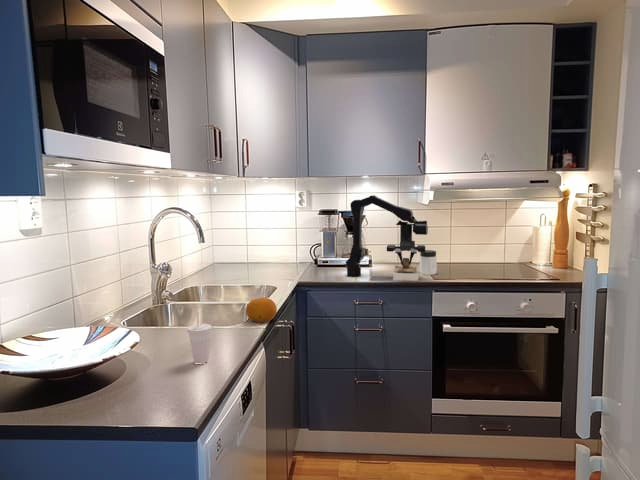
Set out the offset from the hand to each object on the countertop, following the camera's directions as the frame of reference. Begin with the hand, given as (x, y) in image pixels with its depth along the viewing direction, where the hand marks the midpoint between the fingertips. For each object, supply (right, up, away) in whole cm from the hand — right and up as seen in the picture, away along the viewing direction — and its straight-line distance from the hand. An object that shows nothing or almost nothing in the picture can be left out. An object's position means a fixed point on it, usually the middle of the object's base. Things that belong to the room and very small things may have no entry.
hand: (405, 265), depth 226 cm
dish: (0, -7, +1) cm, 7 cm away
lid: (0, -2, 0) cm, 2 cm away
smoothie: (-75, -20, -104) cm, 130 cm away
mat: (-12, -7, +2) cm, 14 cm away
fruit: (-63, -16, -66) cm, 93 cm away
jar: (+15, -5, +15) cm, 22 cm away
